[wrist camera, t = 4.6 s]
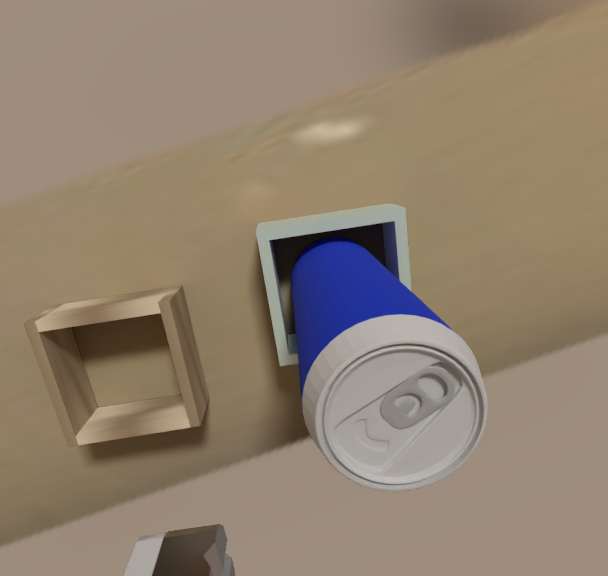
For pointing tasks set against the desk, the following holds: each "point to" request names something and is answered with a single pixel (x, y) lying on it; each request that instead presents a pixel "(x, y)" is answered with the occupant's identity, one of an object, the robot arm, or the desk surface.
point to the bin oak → (74, 382)
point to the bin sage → (268, 231)
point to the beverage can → (381, 372)
